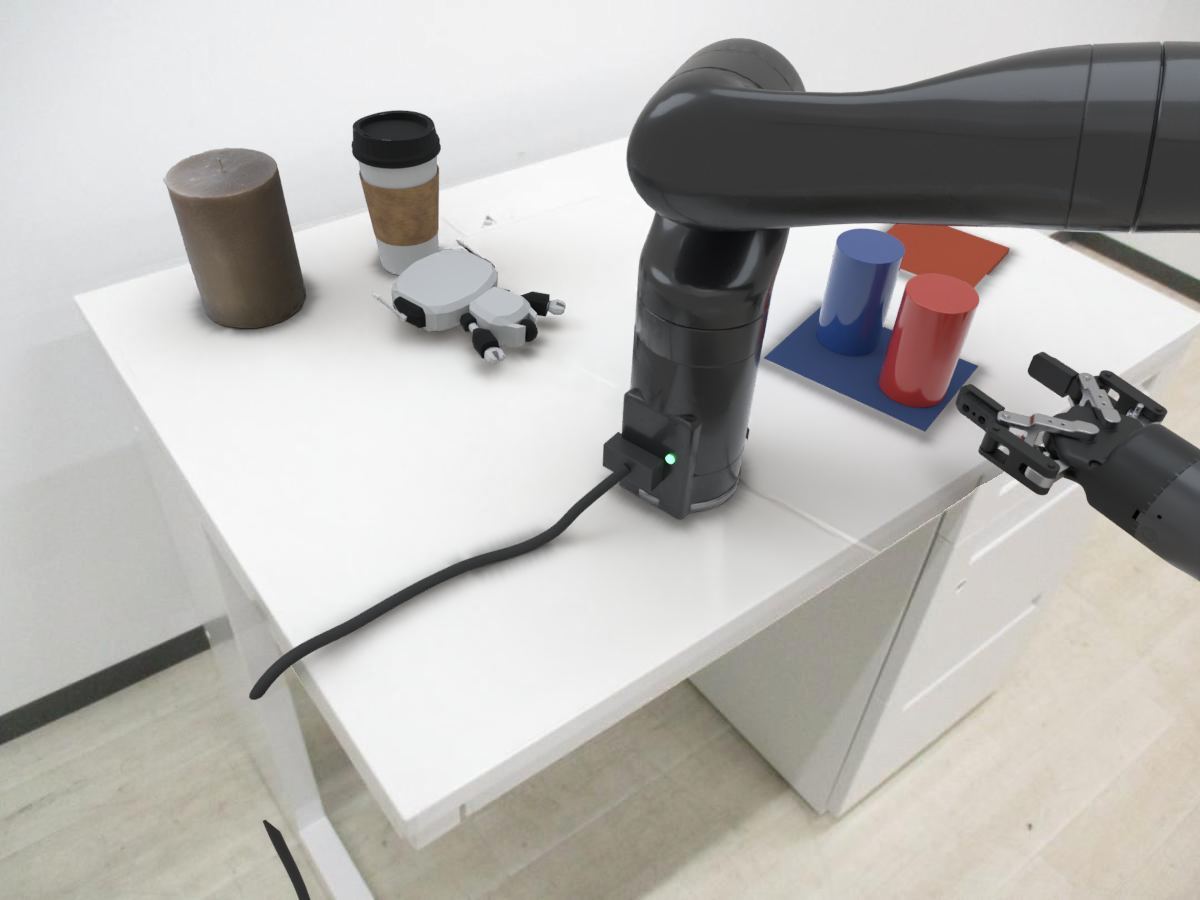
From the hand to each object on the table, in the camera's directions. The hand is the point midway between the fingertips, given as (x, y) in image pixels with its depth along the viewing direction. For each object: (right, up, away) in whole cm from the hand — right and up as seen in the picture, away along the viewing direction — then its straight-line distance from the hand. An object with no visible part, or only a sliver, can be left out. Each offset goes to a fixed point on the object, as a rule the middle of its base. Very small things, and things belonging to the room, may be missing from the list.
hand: (997, 377), depth 77 cm
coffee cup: (-52, +14, +23) cm, 59 cm away
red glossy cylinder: (-4, 0, +9) cm, 10 cm away
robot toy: (-44, +6, +15) cm, 47 cm away
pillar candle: (-66, +9, +17) cm, 69 cm away
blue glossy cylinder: (-9, +5, +14) cm, 17 cm away
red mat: (+4, +15, +27) cm, 31 cm away
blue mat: (-7, +2, +12) cm, 14 cm away
